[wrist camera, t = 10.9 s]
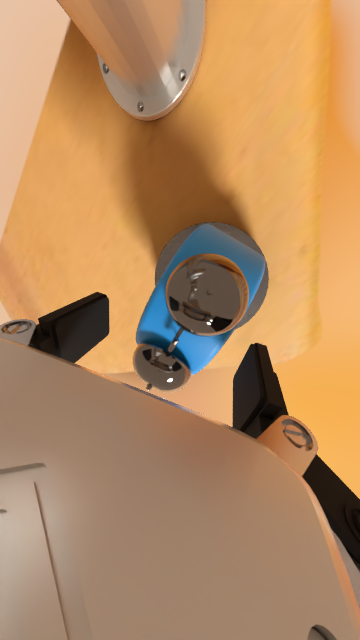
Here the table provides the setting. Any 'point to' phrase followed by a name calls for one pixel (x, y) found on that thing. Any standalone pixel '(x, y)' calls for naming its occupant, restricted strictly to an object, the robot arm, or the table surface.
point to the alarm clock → (195, 307)
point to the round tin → (234, 233)
